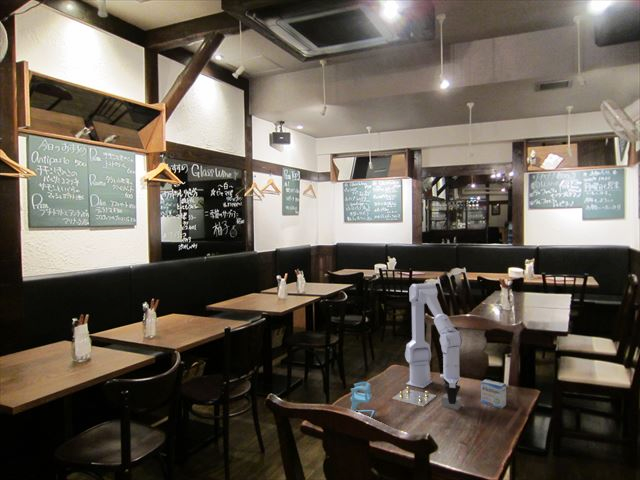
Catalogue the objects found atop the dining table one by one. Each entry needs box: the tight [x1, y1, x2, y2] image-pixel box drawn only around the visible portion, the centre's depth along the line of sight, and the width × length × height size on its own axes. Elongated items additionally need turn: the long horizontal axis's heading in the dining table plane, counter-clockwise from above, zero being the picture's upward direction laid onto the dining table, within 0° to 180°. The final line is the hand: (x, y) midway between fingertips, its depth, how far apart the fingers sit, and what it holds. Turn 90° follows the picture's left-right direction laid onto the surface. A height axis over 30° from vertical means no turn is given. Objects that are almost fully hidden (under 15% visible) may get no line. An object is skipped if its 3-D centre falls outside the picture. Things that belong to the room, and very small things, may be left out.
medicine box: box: [480, 378, 507, 409], centre depth 164 cm, size 8×4×9 cm, turn 47°
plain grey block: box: [441, 393, 462, 411], centre depth 163 cm, size 9×11×5 cm
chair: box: [349, 381, 375, 417], centre depth 157 cm, size 8×8×12 cm
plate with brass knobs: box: [392, 386, 437, 407], centre depth 172 cm, size 12×13×3 cm
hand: (451, 400), depth 163 cm, fingers open, 6 cm apart
